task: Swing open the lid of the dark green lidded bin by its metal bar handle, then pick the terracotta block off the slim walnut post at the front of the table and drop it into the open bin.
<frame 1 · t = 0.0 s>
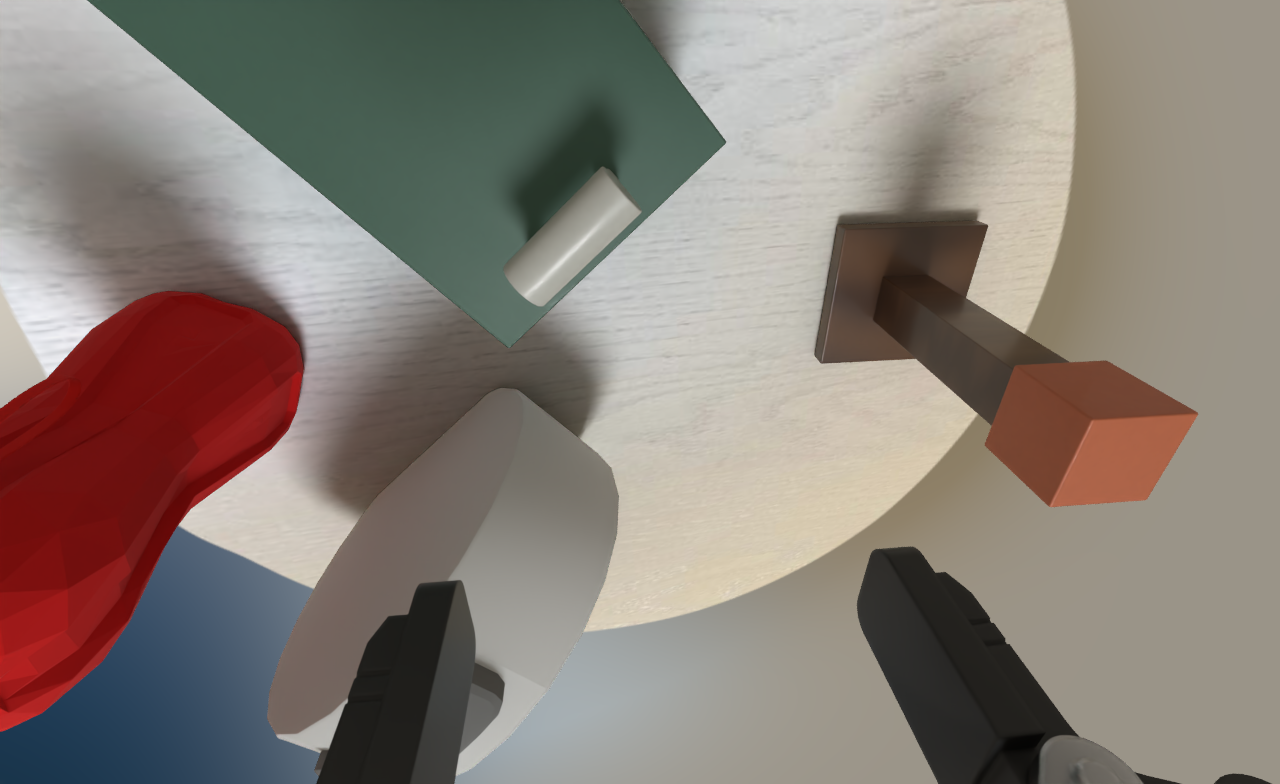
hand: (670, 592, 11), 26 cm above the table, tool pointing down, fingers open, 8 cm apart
water bottle: (230, 347, 35), on the table
stand: (891, 291, 37), on the table
alarm clock: (473, 473, 41), on the table
bin lid: (425, 79, 18), point 12 cm above the table, hinge at 0.0°
block: (1042, 404, 25), point 14 cm above the table, touching stand
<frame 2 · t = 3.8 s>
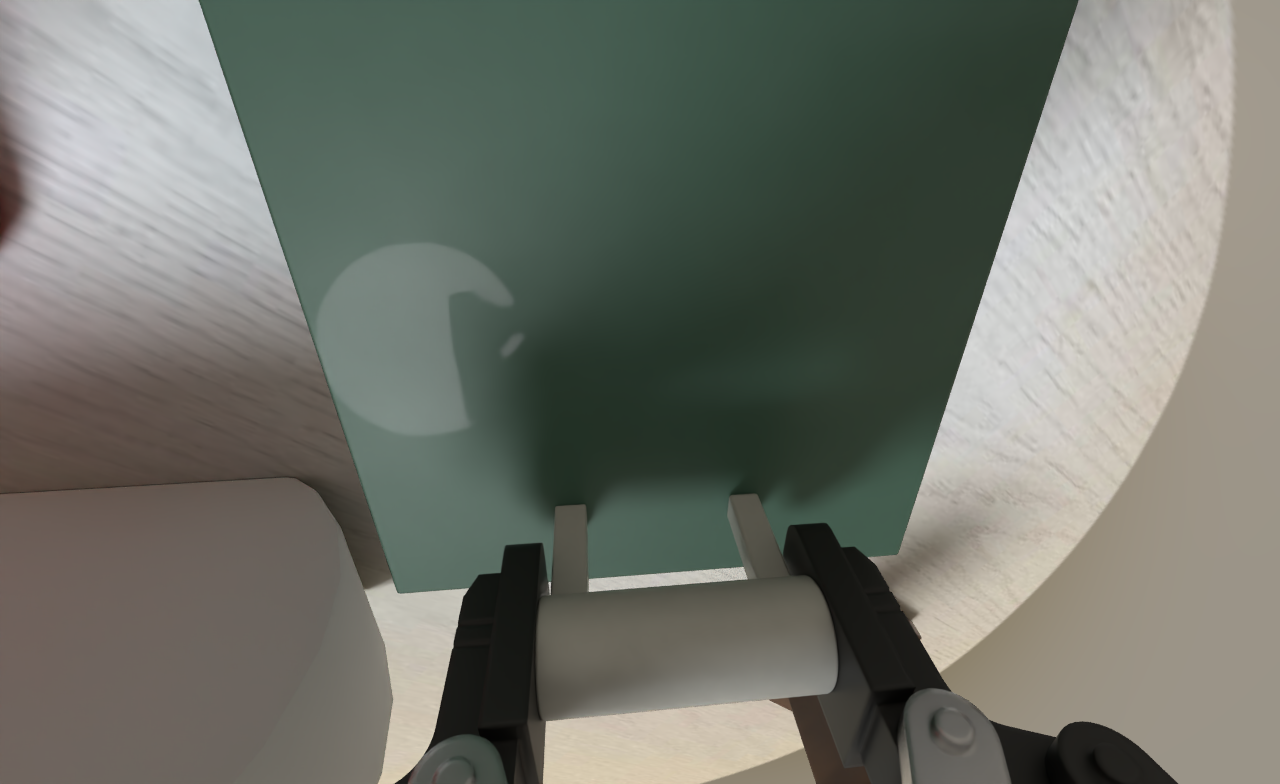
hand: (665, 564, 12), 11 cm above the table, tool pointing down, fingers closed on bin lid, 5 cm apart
stand: (804, 633, 32), on the table
alarm clock: (172, 548, 25), on the table
bin lid: (678, 251, 8), point 12 cm above the table, hinge at 0.0°, touching gripper
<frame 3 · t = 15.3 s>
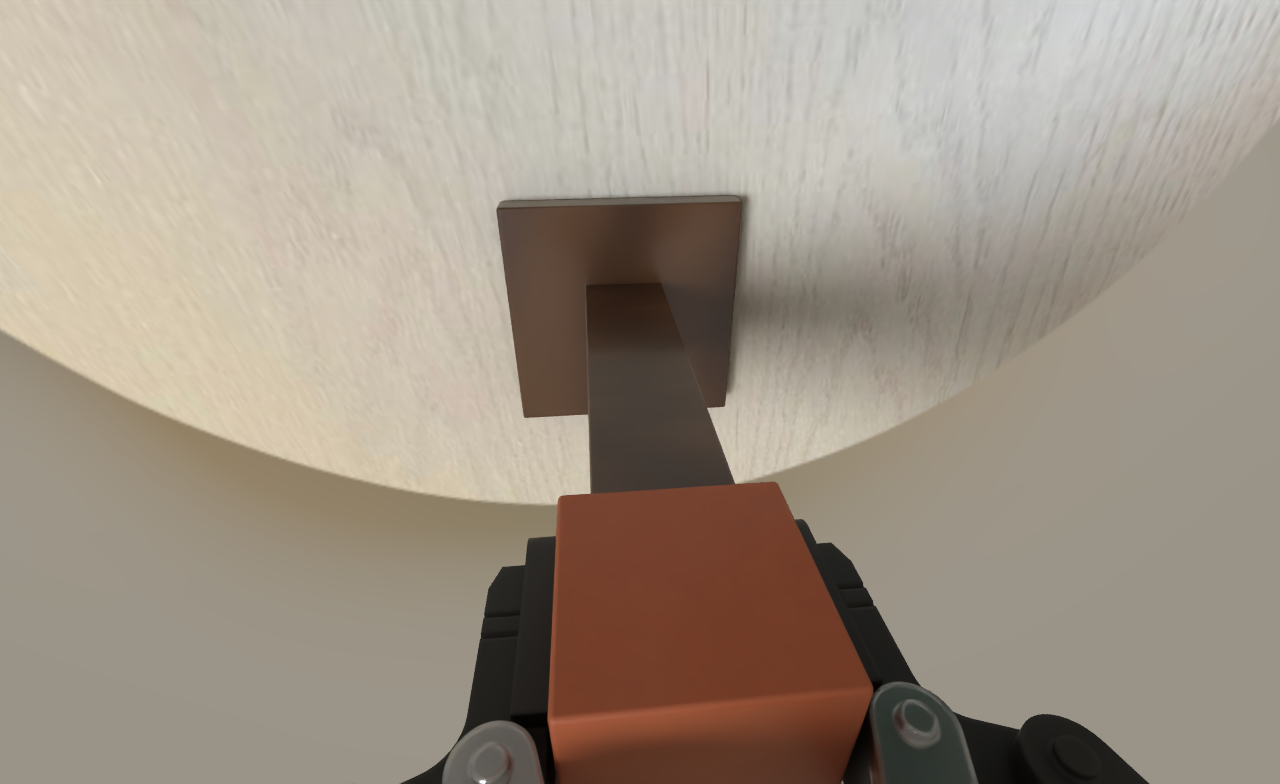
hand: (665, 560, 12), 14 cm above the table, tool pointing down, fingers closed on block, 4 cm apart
stand: (622, 308, 24), on the table
block: (667, 564, 12), point 14 cm above the table, touching gripper, stand
when the fingers open (9 cm above the table, at t = 23.3 s): block drops 8 cm, resting on bin.
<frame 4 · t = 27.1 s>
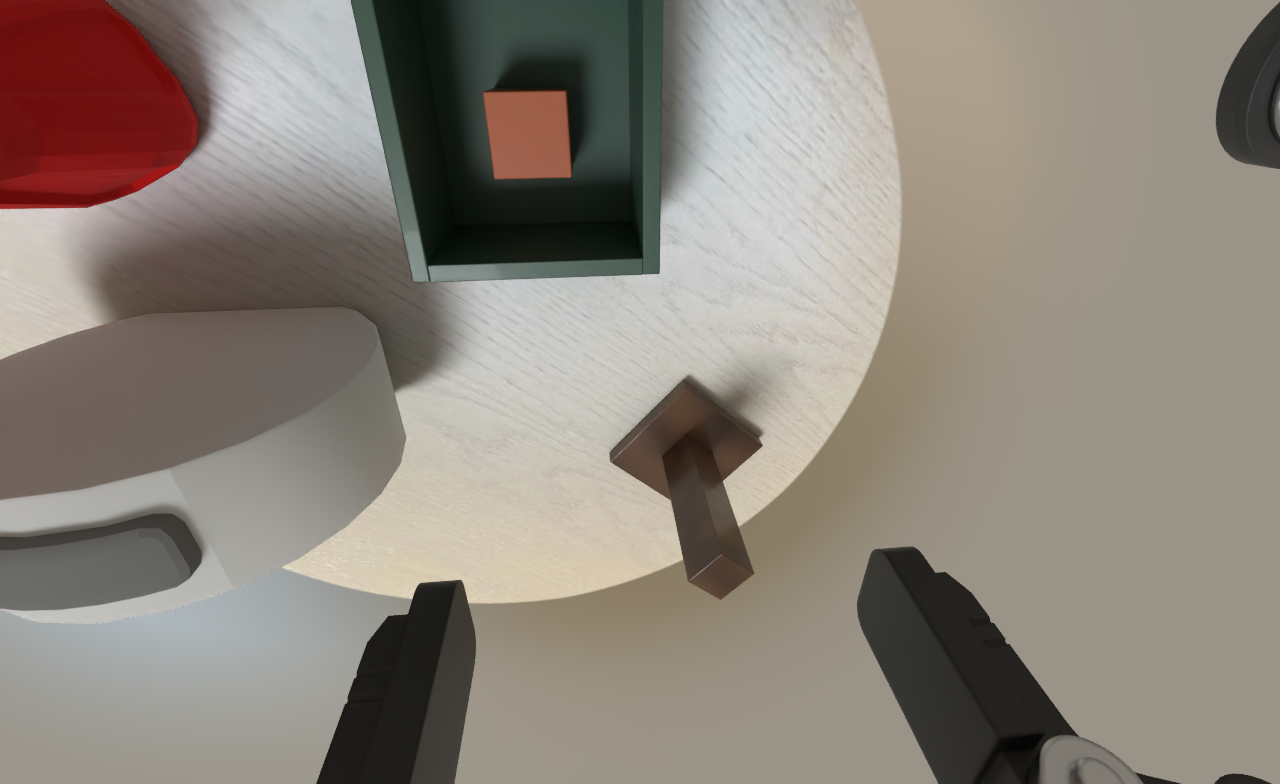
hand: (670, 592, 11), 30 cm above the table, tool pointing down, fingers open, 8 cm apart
water bottle: (117, 87, 31), on the table
stand: (684, 445, 47), on the table
alarm clock: (267, 357, 40), on the table
block: (534, 127, 33), point 1 cm above the table, touching bin
bin: (533, 88, 33), on the table
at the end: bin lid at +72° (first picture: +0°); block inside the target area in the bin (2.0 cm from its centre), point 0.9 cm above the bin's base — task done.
